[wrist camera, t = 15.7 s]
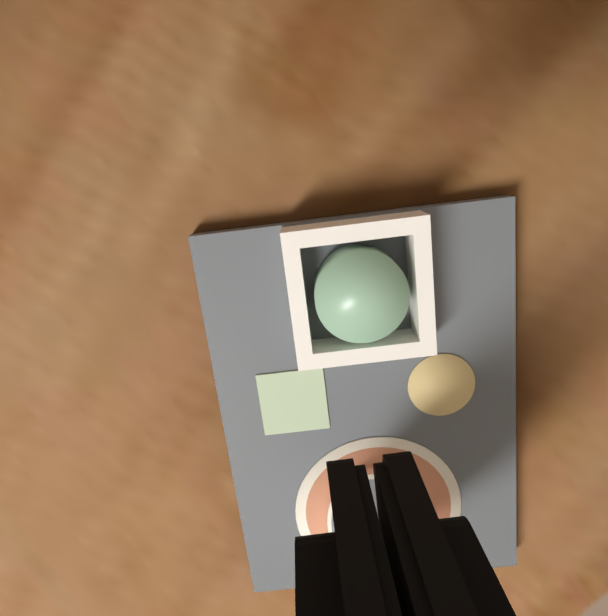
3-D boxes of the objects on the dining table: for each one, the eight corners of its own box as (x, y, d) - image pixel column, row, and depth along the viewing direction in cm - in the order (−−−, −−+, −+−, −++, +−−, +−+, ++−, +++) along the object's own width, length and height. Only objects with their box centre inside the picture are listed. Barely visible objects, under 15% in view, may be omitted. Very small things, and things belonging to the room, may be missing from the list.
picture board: (255, 579, 32) (251, 620, 30) (192, 233, 26) (178, 243, 23) (510, 553, 32) (530, 592, 29) (507, 194, 26) (533, 199, 23)
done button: (318, 334, 26) (320, 348, 24) (308, 249, 25) (309, 257, 23) (404, 324, 26) (412, 337, 24) (398, 238, 25) (406, 245, 23)
